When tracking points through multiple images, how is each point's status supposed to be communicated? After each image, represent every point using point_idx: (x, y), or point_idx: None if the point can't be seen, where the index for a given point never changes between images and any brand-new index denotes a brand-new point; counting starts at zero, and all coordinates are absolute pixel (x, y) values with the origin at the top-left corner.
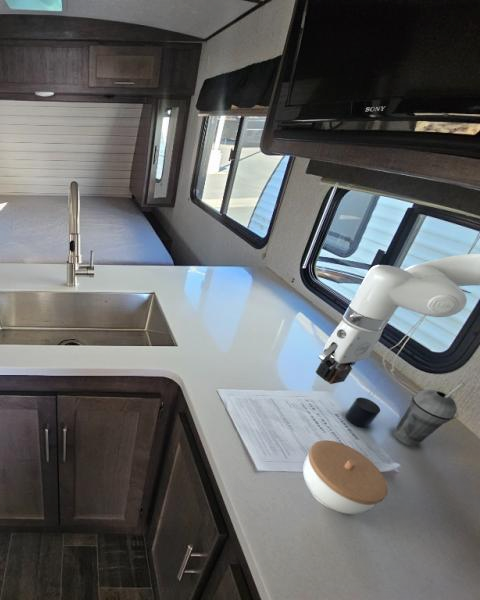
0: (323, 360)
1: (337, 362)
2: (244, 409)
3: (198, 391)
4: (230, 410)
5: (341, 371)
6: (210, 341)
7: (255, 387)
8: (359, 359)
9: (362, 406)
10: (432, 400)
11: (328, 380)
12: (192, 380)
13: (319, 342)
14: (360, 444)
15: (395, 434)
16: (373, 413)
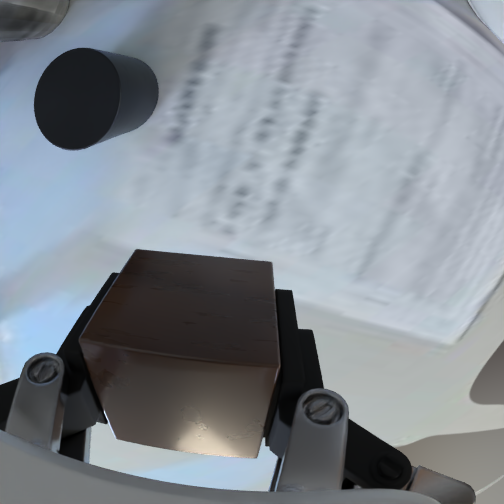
0: (463, 489)
1: (313, 478)
2: (466, 272)
3: (488, 344)
4: (493, 280)
5: (229, 352)
6: None
7: (356, 328)
8: (30, 475)
9: (110, 94)
10: None
11: (284, 293)
12: (467, 372)
13: (5, 365)
14: (228, 7)
15: (59, 19)
16: (97, 50)
